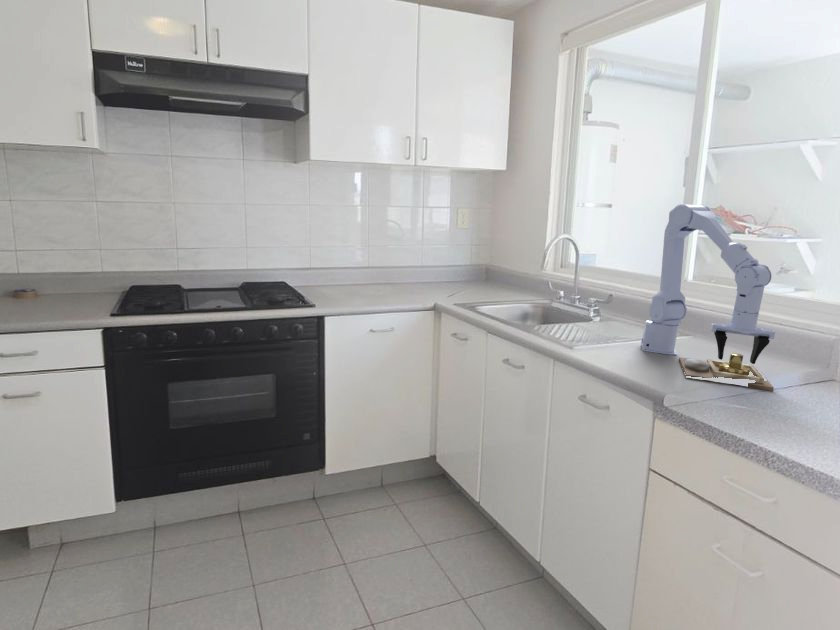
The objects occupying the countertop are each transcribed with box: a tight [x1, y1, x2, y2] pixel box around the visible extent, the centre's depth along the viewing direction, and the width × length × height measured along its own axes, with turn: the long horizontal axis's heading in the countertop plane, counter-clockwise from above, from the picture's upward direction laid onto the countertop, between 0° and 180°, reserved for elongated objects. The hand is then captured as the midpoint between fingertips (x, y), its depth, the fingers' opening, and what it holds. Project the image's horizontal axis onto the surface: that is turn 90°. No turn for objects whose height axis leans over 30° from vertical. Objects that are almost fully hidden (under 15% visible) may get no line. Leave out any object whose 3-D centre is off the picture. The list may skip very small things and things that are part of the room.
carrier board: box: [678, 356, 774, 392], centre depth 148 cm, size 20×16×2 cm
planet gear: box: [718, 352, 750, 375], centre depth 147 cm, size 7×7×5 cm
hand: (736, 360), depth 146 cm, fingers open, 7 cm apart
